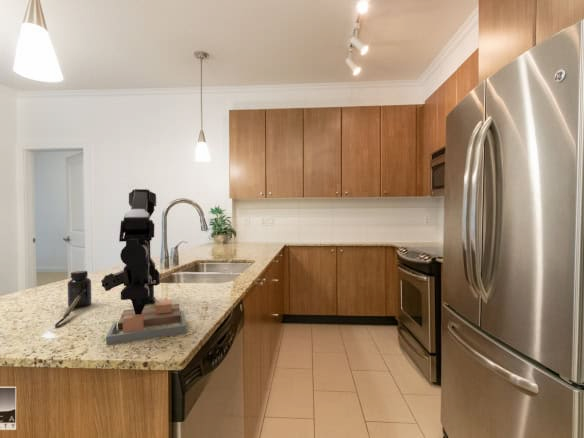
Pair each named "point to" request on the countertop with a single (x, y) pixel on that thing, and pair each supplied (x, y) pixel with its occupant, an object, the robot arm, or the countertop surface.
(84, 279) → the supplement bottle
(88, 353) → the countertop surface
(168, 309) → the block
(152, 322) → the walnut board
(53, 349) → the countertop surface
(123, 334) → the tray
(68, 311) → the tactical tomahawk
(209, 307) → the countertop surface
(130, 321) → the tile
